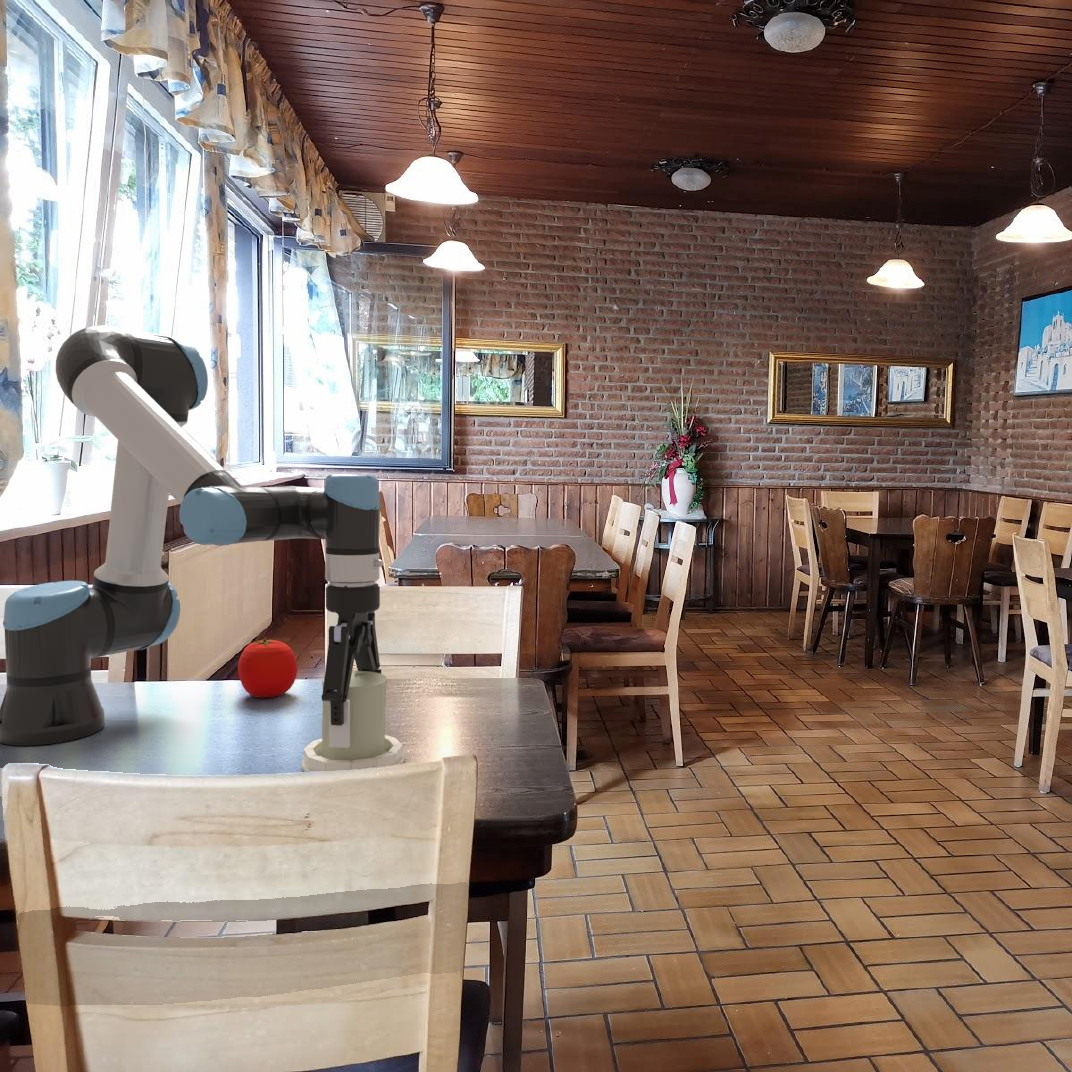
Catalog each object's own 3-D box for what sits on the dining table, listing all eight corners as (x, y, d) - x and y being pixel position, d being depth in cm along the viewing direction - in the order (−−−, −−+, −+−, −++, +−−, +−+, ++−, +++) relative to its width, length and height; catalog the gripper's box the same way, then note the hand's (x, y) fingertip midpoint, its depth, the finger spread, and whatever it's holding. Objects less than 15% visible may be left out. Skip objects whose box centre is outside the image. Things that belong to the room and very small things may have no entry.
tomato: (283, 685, 163) (283, 631, 162) (305, 697, 155) (305, 640, 154) (229, 694, 157) (228, 637, 156) (249, 706, 148) (248, 647, 148)
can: (389, 746, 125) (391, 668, 124) (380, 769, 116) (382, 684, 115) (328, 745, 125) (329, 666, 124) (313, 767, 116) (315, 683, 115)
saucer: (285, 779, 114) (285, 761, 114) (322, 745, 128) (322, 729, 128) (389, 784, 113) (389, 766, 113) (414, 749, 127) (414, 733, 127)
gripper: (352, 595, 106) (353, 762, 108) (400, 573, 130) (400, 710, 132) (295, 594, 107) (296, 759, 109) (353, 572, 131) (353, 708, 132)
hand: (353, 732), depth 120 cm, fingers open, 11 cm apart
